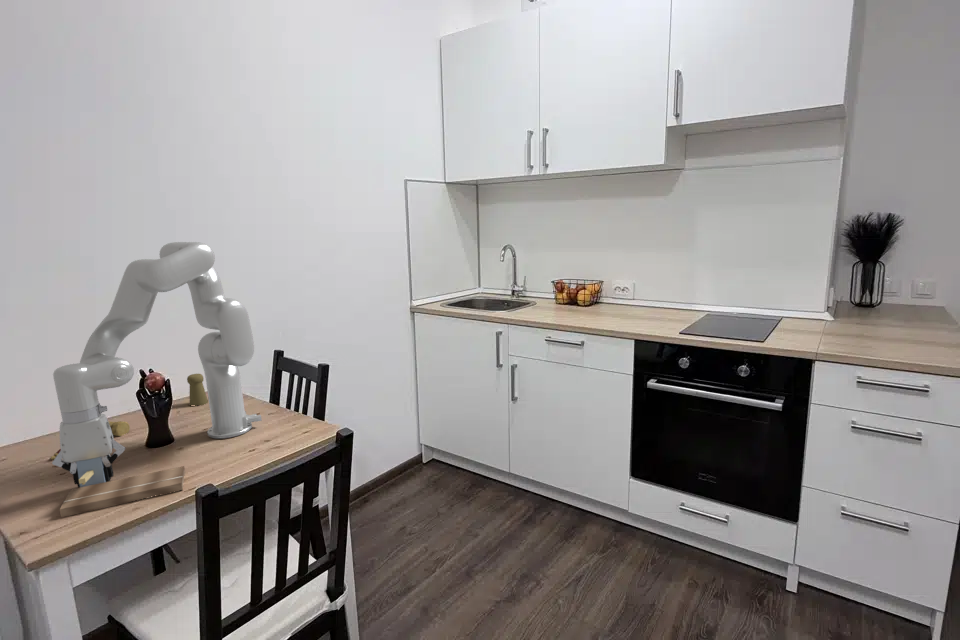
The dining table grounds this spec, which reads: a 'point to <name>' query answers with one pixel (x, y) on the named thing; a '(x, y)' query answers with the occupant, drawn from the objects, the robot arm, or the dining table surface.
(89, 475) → the blue block with stick
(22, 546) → the dining table surface
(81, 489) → the board
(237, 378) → the robot arm
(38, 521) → the dining table surface
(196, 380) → the cork
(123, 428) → the gavel
